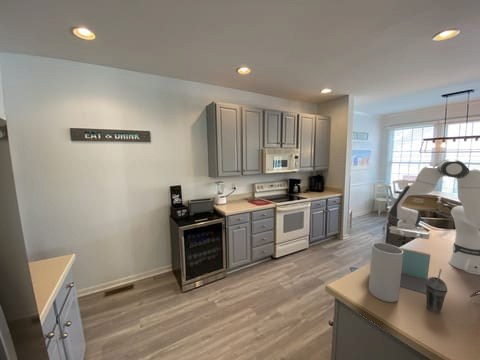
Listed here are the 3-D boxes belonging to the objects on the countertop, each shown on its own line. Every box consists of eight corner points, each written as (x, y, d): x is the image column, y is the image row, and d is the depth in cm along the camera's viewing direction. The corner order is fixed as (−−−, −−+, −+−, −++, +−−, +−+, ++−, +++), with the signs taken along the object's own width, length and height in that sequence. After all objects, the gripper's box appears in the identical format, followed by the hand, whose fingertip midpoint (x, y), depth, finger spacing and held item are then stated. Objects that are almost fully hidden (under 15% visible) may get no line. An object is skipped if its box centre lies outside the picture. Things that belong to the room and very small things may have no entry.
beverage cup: (418, 304, 95) (422, 265, 92) (432, 303, 95) (437, 264, 93) (434, 316, 87) (439, 274, 85) (449, 315, 88) (455, 273, 86)
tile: (426, 277, 116) (429, 253, 114) (427, 279, 114) (430, 255, 113) (394, 269, 124) (396, 247, 123) (394, 271, 123) (397, 248, 121)
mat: (431, 281, 113) (431, 280, 113) (439, 297, 99) (440, 296, 99) (392, 271, 122) (392, 270, 122) (394, 284, 109) (394, 284, 109)
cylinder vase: (363, 286, 108) (366, 242, 105) (386, 286, 108) (390, 242, 105) (378, 302, 96) (383, 253, 93) (404, 303, 95) (410, 254, 92)
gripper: (389, 222, 144) (390, 228, 132) (426, 228, 133) (432, 234, 121) (388, 230, 145) (389, 237, 133) (425, 237, 133) (431, 244, 122)
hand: (410, 236), depth 127 cm, fingers open, 5 cm apart
